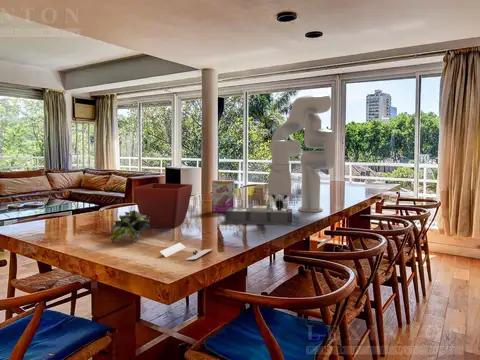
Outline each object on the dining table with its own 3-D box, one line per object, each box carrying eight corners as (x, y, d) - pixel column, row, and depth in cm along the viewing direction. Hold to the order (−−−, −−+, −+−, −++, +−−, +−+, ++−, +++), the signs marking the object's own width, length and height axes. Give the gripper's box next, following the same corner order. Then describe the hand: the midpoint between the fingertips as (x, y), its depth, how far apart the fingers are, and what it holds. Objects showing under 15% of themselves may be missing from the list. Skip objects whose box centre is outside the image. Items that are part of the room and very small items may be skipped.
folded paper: (195, 262, 104) (195, 256, 103) (159, 258, 108) (159, 251, 108) (213, 252, 115) (213, 246, 115) (180, 248, 119) (180, 242, 119)
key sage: (273, 215, 165) (273, 208, 165) (286, 215, 164) (286, 208, 164) (272, 217, 159) (272, 210, 159) (286, 217, 158) (286, 210, 158)
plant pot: (177, 230, 143) (177, 188, 141) (133, 228, 147) (132, 187, 145) (193, 221, 162) (193, 184, 160) (153, 220, 165) (153, 183, 164)
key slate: (234, 214, 168) (234, 208, 167) (247, 215, 167) (247, 208, 166) (232, 217, 162) (232, 210, 161) (245, 217, 161) (245, 210, 161)
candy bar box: (211, 212, 186) (211, 180, 185) (213, 210, 191) (213, 179, 190) (233, 212, 185) (233, 180, 184) (234, 211, 190) (234, 180, 188)
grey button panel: (230, 217, 172) (230, 206, 172) (292, 219, 168) (292, 208, 167) (224, 223, 158) (224, 211, 158) (291, 225, 154) (292, 213, 154)
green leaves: (132, 253, 132) (150, 221, 137) (142, 255, 122) (161, 220, 127) (101, 237, 127) (121, 204, 132) (109, 238, 117) (130, 202, 122)
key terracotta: (253, 212, 166) (253, 205, 166) (266, 212, 165) (266, 205, 165) (252, 214, 160) (252, 207, 160) (265, 214, 159) (265, 207, 159)
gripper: (262, 168, 157) (261, 210, 158) (297, 168, 155) (296, 211, 156) (263, 167, 165) (263, 207, 166) (297, 168, 162) (296, 208, 164)
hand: (279, 209), depth 161 cm, fingers closed
